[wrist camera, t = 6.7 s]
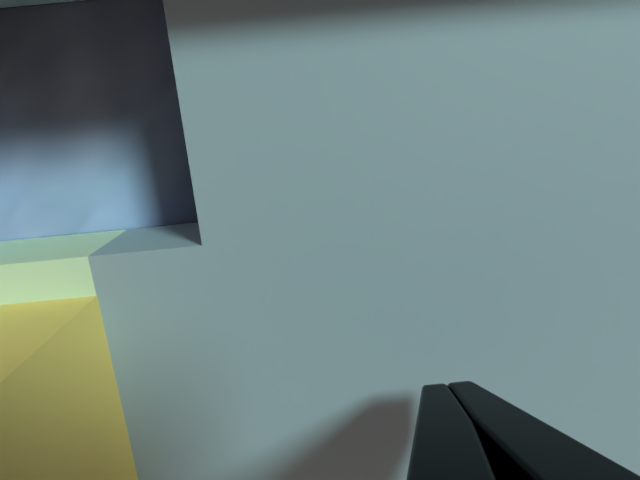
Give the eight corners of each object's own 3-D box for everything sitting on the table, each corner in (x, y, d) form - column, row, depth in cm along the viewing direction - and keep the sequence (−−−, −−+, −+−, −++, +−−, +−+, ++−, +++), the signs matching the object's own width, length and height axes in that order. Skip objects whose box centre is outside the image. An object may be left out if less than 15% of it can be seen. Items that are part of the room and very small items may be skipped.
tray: (683, -113, 9) (911, -247, 6) (618, 587, 13) (724, 746, 10) (-231, -32, 9) (-560, -120, 5) (9, 651, 13) (-91, 836, 10)
